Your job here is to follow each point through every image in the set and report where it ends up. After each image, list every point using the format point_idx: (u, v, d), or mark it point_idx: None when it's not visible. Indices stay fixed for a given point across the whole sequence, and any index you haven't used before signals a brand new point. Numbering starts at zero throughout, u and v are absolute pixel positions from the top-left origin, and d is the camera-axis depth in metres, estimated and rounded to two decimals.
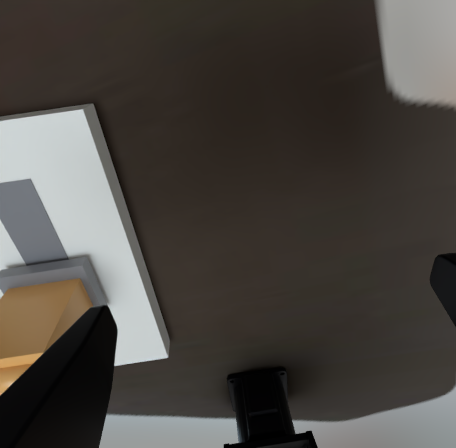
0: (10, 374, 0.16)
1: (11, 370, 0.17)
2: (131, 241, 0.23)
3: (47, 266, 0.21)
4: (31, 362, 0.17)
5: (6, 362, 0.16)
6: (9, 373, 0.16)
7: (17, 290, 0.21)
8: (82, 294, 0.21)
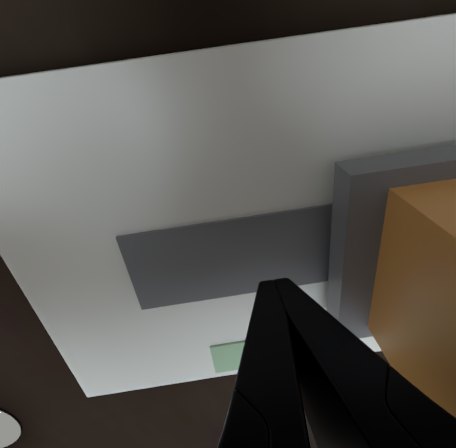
0: None
1: None
2: None
3: (336, 250, 0.09)
4: None
5: None
6: None
7: (375, 317, 0.10)
8: (444, 192, 0.07)
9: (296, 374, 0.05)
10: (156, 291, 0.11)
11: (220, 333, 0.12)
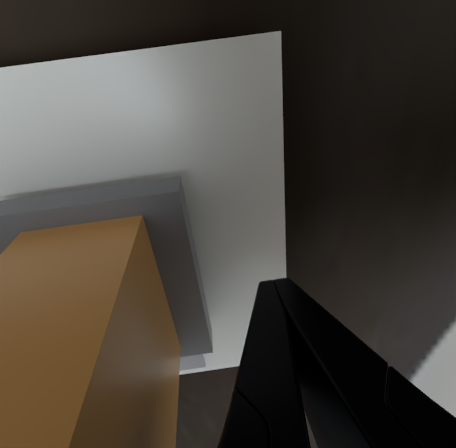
0: None
1: None
2: None
3: None
4: None
5: None
6: None
7: None
8: (50, 240, 0.07)
9: (296, 374, 0.05)
10: None
11: None
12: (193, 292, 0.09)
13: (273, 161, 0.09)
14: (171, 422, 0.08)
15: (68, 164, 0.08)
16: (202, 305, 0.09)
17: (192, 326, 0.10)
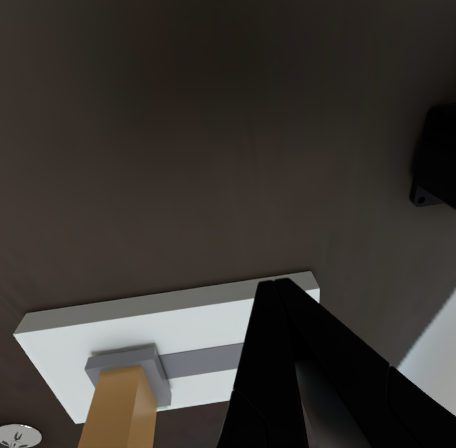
0: None
1: None
2: (146, 308, 0.23)
3: None
4: None
5: None
6: None
7: None
8: (111, 377, 0.22)
9: (295, 374, 0.05)
10: None
11: None
12: (160, 385, 0.24)
13: None
14: (151, 435, 0.23)
15: (242, 324, 0.23)
16: (164, 389, 0.24)
17: (161, 396, 0.25)
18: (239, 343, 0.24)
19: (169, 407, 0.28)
